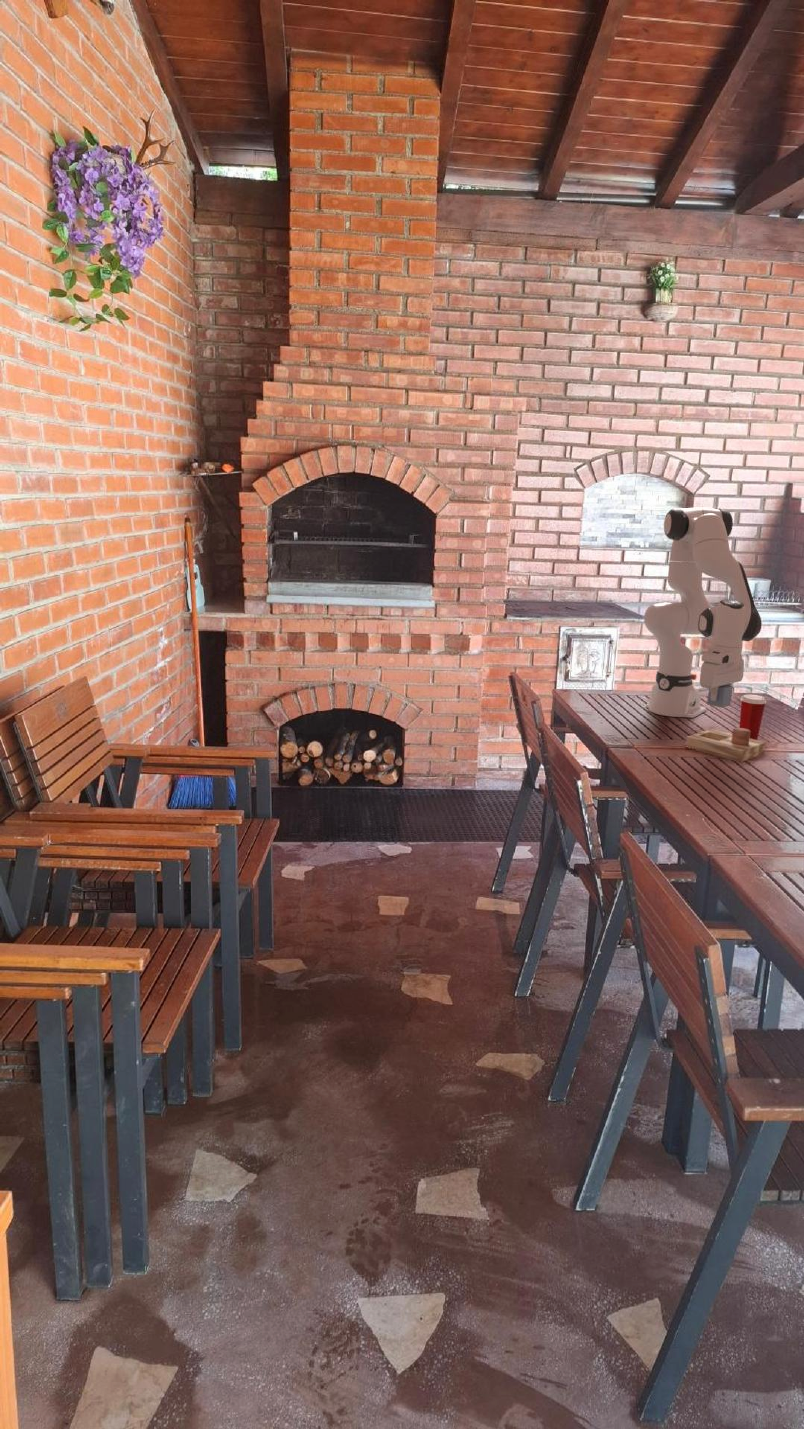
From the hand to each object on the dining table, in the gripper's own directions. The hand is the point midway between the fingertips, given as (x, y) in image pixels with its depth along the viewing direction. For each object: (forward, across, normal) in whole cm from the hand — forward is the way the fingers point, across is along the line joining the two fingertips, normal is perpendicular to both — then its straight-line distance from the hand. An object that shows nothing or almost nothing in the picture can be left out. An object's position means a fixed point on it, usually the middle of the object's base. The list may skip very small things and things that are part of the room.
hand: (719, 698), depth 279 cm
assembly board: (+15, 0, +4) cm, 16 cm away
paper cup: (+16, -19, +2) cm, 24 cm away
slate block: (+2, 0, 0) cm, 2 cm away
